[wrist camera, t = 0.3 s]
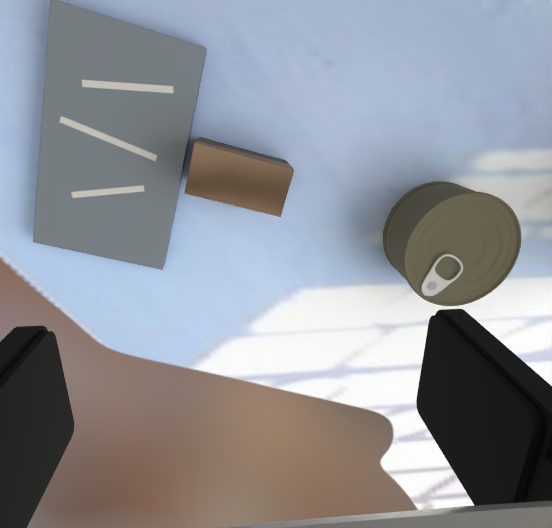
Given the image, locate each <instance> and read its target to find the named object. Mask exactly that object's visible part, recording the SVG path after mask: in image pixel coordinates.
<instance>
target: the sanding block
mask: <svg viewBox="0 0 552 528" xmlns="http://www.w3.org/2000/svg"><path fill="white" fill-rule="evenodd" d="M293 172H294V169H293V168H292V167H291V166H290V165H289V163H288V162H287V161H284V160H281V159H277V158H274V157H270V156H266V155H263V154H259V153H255V152H252V151H248V150H245V149H241V148H237V147H234V146H230V145H226V144H223V143H219V142H216V141H212V140H208V139H205V138H201V137H200V138H199V139H198V140H197V141H196V142H195V143H194V148H193V153H192V158H191V163H190V168H189V173H188V178H187V183H186V188H185V193H186V194H190V195H194V196H198V197H202V198H206V199H210V200H214V201H218V202H222V203H226V204H230V205H234V206H238V207H242V208H246V209H251V210H255V211H259V212H263V213H267V214H271V215H275V216H279V217H281V213H282V210H283V206H284V203H285V200H286V196H287V193H288V189H289V186H290V182H291V179H292V175H293Z"/></svg>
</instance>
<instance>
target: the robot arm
mask: <svg viewBox="0 0 552 528" xmlns="http://www.w3.org/2000/svg"><path fill="white" fill-rule="evenodd" d="M417 409H418V412H419V415H420V416H421V418H422V420H423V421H424V423H425V425H426V426H427V428H428V430H429V431H430V433H431V434H432V436H433V438H434V439H435V441H436V443H437V444H438V446H439V448H440V449H441V451H442V452H443V454H444V456H445V457H446V459H447V461H448V462H449V464H450V466H451V467H452V469H453V471H454V472H455V474H456V475H457V477H458V479H459V480H460V482H461V484H462V485H463V487H464V489H465V490H466V492H467V494H468V495H469V497H470V498H471V500H472V502H473V503H474V505H475V506H465V507H453V508H441V509H428V510H416V511H404V512H392V513H379V514H367V515H355V516H343V517H331V518H320V519H309V520H298V521H285V522H274V523H262V524H252V525H240V526H229V527H218V528H552V386H551V385H550V384H549V383H547V382H546V381H545V380H544V379H543V378H542V377H540V376H539V375H538V374H537V373H536V372H535V371H534V370H532V369H531V368H530V367H529V366H528V365H527V364H525V363H524V362H523V361H522V360H521V359H520V358H519V357H517V356H516V355H515V354H514V353H513V352H512V351H510V350H509V349H508V348H507V347H506V346H505V345H504V344H502V343H501V342H500V341H499V340H498V339H497V338H495V337H494V336H493V335H492V334H491V333H490V332H489V331H487V330H486V329H485V328H484V327H483V326H482V325H481V324H479V323H478V322H477V321H476V320H475V319H474V318H472V317H471V316H470V315H469V314H468V313H467V312H466V311H464V310H463V309H448V310H439V311H437V313H436V315H435V316H431V318H430V320H429V325H428V332H427V338H426V344H425V350H424V357H423V363H422V369H421V375H420V381H419V388H418V394H417ZM73 431H74V420H73V415H72V410H71V405H70V401H69V396H68V391H67V387H66V382H65V378H64V373H63V368H62V363H61V359H60V354H59V349H58V345H57V340H56V337H55V334H54V333H53V332H52V331H48V330H47V329H46V327H44V326H25V327H16V328H14V329H13V330H12V331H11V332H10V333H9V334H8V335H7V336H6V337H5V338H4V339H3V340H2V341H1V342H0V528H27V526H28V524H29V522H30V520H31V518H32V516H33V514H34V512H35V510H36V508H37V506H38V504H39V502H40V500H41V498H42V496H43V494H44V492H45V490H46V488H47V486H48V484H49V482H50V480H51V477H52V476H53V474H54V472H55V470H56V468H57V466H58V464H59V462H60V460H61V458H62V456H63V454H64V452H65V449H66V448H67V446H68V444H69V442H70V440H71V437H72V435H73Z"/></svg>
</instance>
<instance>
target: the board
mask: <svg viewBox="0 0 552 528" xmlns="http://www.w3.org/2000/svg"><path fill="white" fill-rule="evenodd" d="M206 51H207V49H206V48H205V47H202V46H199V45H195V44H192V43H189V42H186V41H183V40H180V39H177V38H174V37H170V36H167V35H164V34H161V33H158V32H155V31H152V30H148V29H145V28H142V27H139V26H136V25H133V24H130V23H126V22H123V21H120V20H117V19H114V18H111V17H108V16H105V15H101V14H98V13H95V12H92V11H89V10H86V9H83V8H79V7H76V6H73V5H70V4H67V3H64V2H61V1H57V0H51V1H50V15H49V29H48V42H47V56H46V70H45V84H44V98H43V112H42V125H41V139H40V153H39V167H38V181H37V194H36V208H35V222H34V236H33V242H35V243H40V244H45V245H49V246H54V247H59V248H64V249H68V250H73V251H78V252H82V253H87V254H92V255H96V256H101V257H106V258H110V259H115V260H120V261H124V262H129V263H134V264H138V265H143V266H148V267H153V268H157V269H163V267H164V265H165V260H166V255H167V250H168V245H169V240H170V235H171V230H172V225H173V220H174V214H175V209H176V204H177V199H178V194H179V189H180V184H181V179H182V174H183V168H184V163H185V158H186V153H187V148H188V143H189V138H190V133H191V127H192V122H193V117H194V112H195V107H196V102H197V97H198V92H199V87H200V81H201V76H202V71H203V66H204V61H205V56H206Z"/></svg>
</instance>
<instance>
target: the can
mask: <svg viewBox="0 0 552 528" xmlns="http://www.w3.org/2000/svg"><path fill="white" fill-rule="evenodd" d="M383 246H384V250H385V253H386V256H387V258H388V260H389V261H390V263H391V264H392V265H393V266H394V267H395V268H396V269H397V270H398V271H399V273H400V274H401V275H402V276H403V277H404V278H405V279H406V280H407V281H408V283H409V285H410V286H411V288H412V289H413V290H414V291H415V292H416V293H417V294H418V295H419V296H420V297H422V298H423V299H425V300H427V301H429V302H431V303H434V304H437V305H443V306H458V305H464V304H468V303H471V302H474V301H476V300H478V299H480V298H482V297H484V296H486V295H487V294H489V293H490V292H492V291H493V290H494V289H495V288H497V287H498V286H499V285H500V284H501V283H502V282H503V281H504V279H505V278H506V277H507V276H508V274H509V273H510V271H511V270H512V268H513V266H514V264H515V262H516V260H517V257H518V254H519V251H520V246H521V229H520V225H519V221H518V219H517V217H516V215H515V213H514V211H513V210H512V209H511V208H510V206H509V205H508V204H506V203H505V202H504V201H503V200H501V199H499V198H498V197H495V196H493V195H490V194H487V193H482V192H476V191H473V190H470V189H468V188H465V187H462V186H459V185H457V184H454V183H449V182H432V183H427V184H424V185H421V186H419V187H417V188H415V189H413V190H411V191H410V192H408V193H407V194H406V195H404V196H403V197H402V198H401V199H400V200H399V201H398V202H397V203H396V205H395V206H394V207H393V209H392V210H391V212H390V214H389V216H388V218H387V220H386V223H385V226H384V231H383Z"/></svg>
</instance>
